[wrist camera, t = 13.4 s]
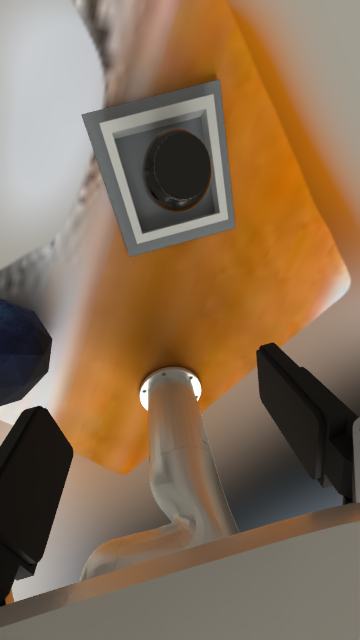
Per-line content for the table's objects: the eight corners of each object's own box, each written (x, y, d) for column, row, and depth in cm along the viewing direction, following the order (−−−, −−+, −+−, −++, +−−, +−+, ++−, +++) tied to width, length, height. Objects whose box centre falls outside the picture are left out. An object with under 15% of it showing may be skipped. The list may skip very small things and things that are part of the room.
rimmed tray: (232, 227, 34) (242, 229, 30) (130, 255, 33) (128, 260, 30) (217, 83, 26) (227, 67, 23) (83, 117, 26) (75, 105, 23)
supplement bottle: (149, 138, 27) (153, 94, 16) (202, 160, 28) (237, 133, 18) (137, 201, 29) (133, 198, 19) (186, 217, 31) (208, 223, 20)
